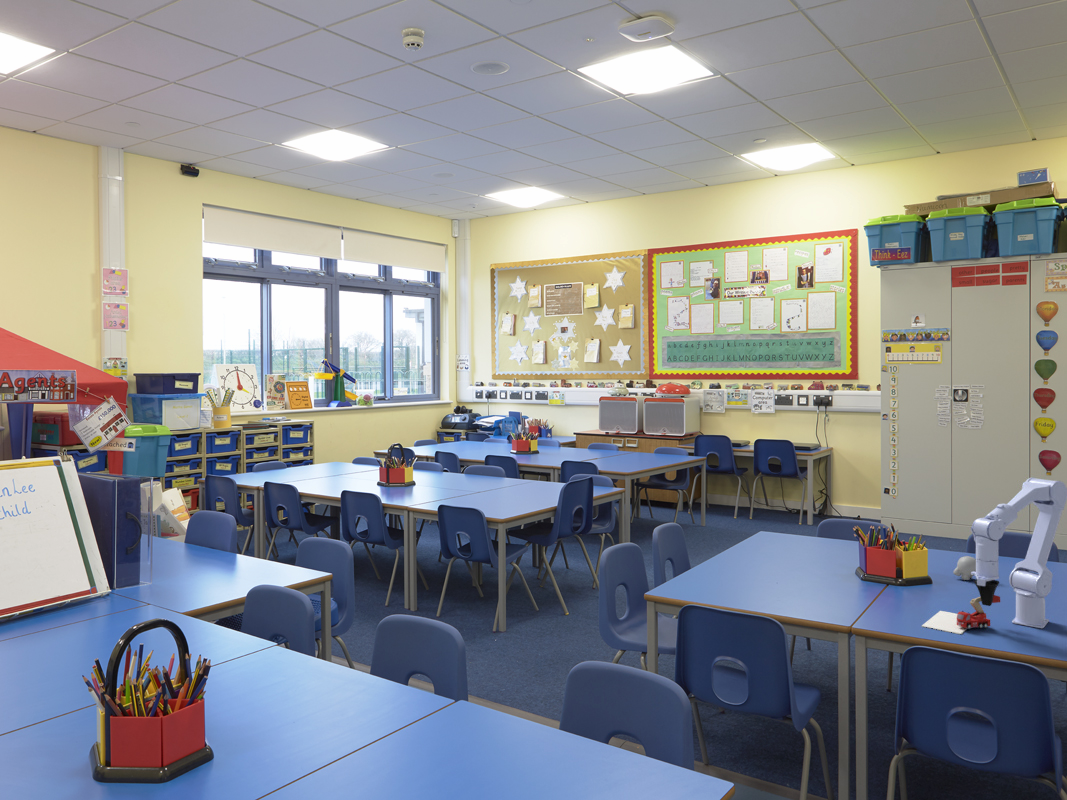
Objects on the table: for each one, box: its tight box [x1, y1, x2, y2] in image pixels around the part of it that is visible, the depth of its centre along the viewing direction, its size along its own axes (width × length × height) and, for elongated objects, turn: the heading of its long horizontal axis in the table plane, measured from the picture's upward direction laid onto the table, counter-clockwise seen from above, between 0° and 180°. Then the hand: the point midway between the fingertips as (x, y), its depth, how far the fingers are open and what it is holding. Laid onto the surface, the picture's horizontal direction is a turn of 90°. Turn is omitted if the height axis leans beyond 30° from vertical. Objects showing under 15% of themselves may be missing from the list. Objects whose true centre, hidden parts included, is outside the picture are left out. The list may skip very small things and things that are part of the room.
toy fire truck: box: [956, 594, 1001, 630], centre depth 223 cm, size 3×14×10 cm, turn 106°
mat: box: [921, 610, 968, 635], centre depth 228 cm, size 19×11×1 cm, turn 136°
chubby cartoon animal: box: [952, 555, 976, 581], centre depth 273 cm, size 7×12×8 cm, turn 42°
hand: (986, 604), depth 221 cm, fingers closed
